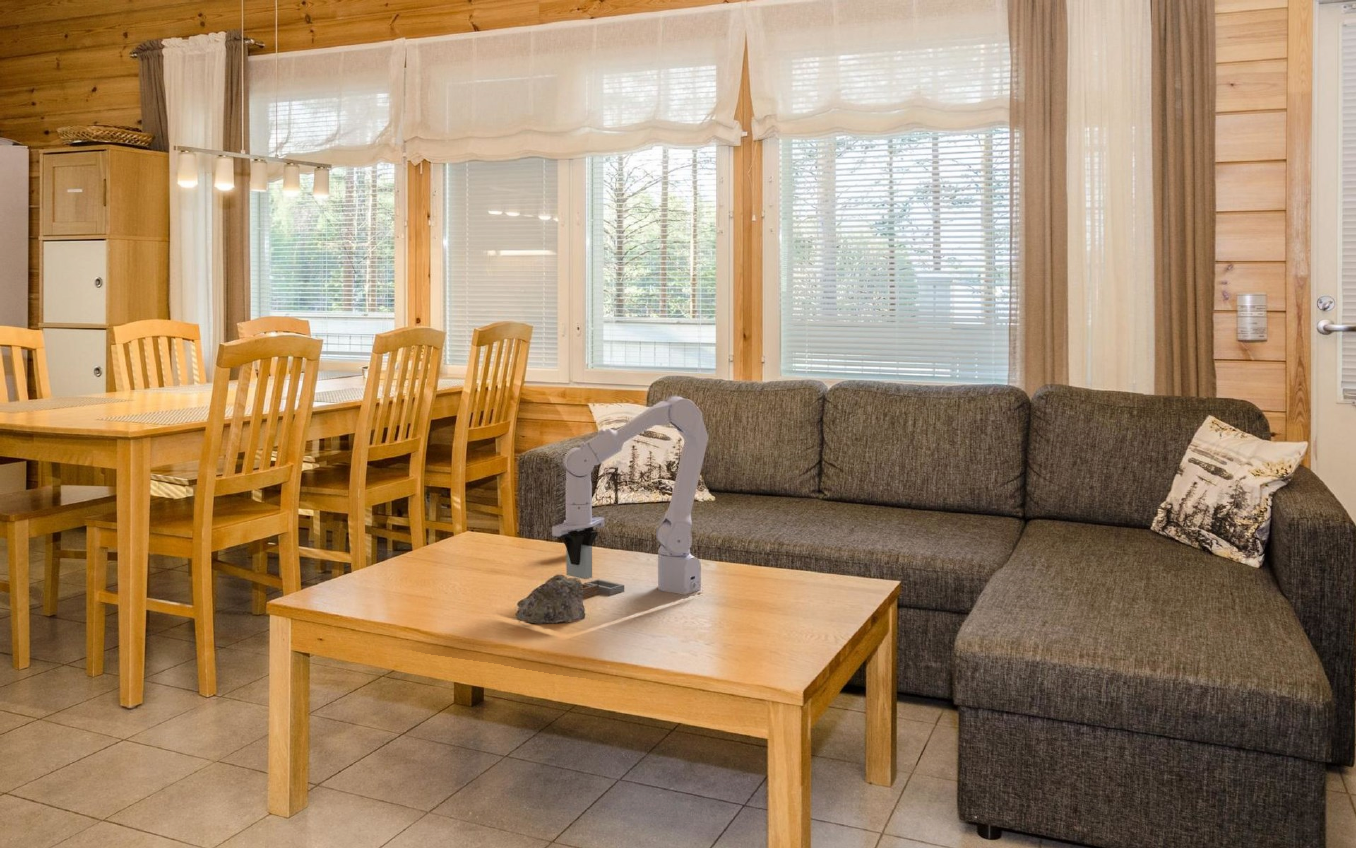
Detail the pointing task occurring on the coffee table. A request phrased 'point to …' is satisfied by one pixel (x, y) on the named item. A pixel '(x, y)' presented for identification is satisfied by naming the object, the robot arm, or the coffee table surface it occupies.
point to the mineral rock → (553, 602)
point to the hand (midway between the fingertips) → (579, 563)
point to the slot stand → (607, 587)
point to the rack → (590, 590)
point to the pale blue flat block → (581, 564)
